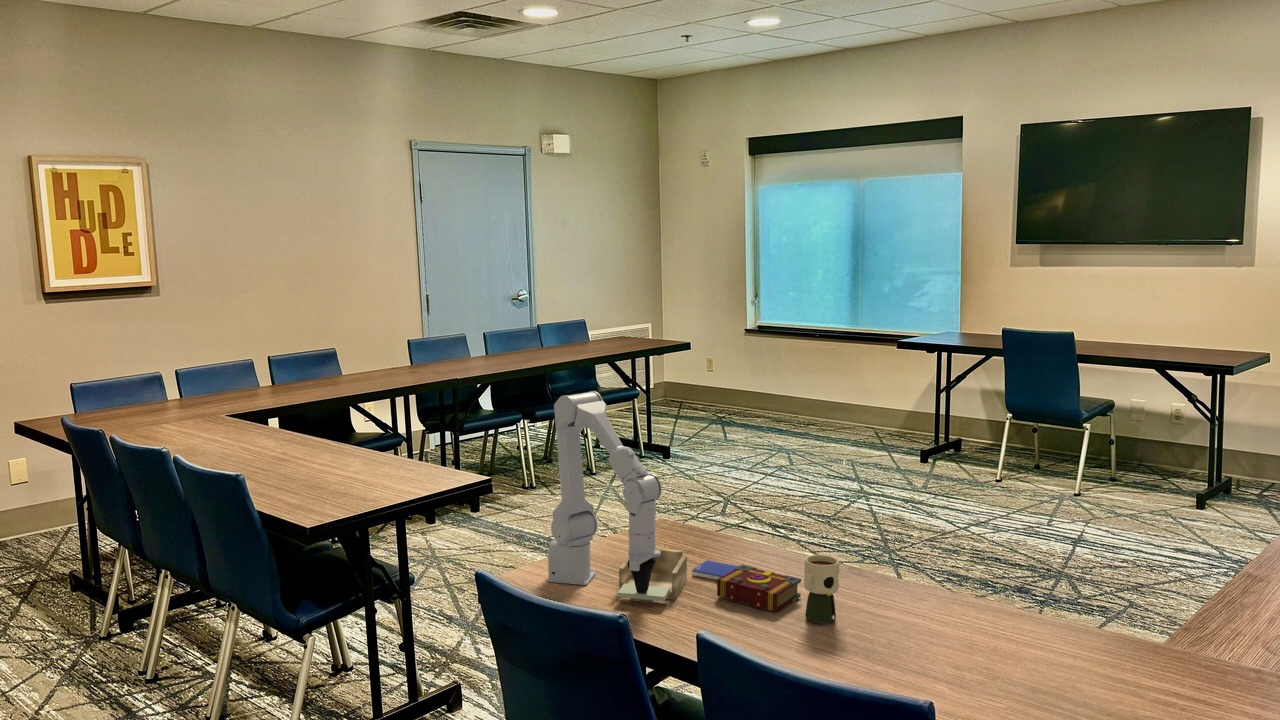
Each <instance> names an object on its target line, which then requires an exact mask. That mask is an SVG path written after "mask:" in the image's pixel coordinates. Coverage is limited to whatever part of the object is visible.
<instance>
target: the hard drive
mask: <svg viewBox="0 0 1280 720" xmlns="http://www.w3.org/2000/svg"><path fill="white" fill-rule="evenodd" d="M738 566H739V565H733V564H729V563H723V562H718V561H713V560H708V559H706V560H705V561H704V562H701V563H700V564H699V565H697V566H695V567H693V568H692V569H691V576H694V577H700V578H704V579H711V580H716V581H717V579H719V578H720V577H722V576H724V575H726V574H728V573H729V572H731V571H733V570H734V569H735V568H736V567H738Z"/></svg>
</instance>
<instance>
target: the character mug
mask: <svg viewBox="0 0 1280 720" xmlns="http://www.w3.org/2000/svg"><path fill="white" fill-rule="evenodd" d="M839 574H840V560H839V558H837V557H834V556H831V555H828V554H810V555H807V556H806V557H804V577H803V578H804V584H803V585H804V589H805V590H806V591H807V592H809V593H808V595H807V602H806V607H805V614H804V617H805V618H806V619H808V620H810V621H813V622H816V623H818V624H830V623H832V622H833V620H834V621H836V617H837V615H836V613H837V611H836V603H835V596H834V594H835V593H837V592H838V590H839V587H840V582H839ZM833 618H834V619H833Z"/></svg>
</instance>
